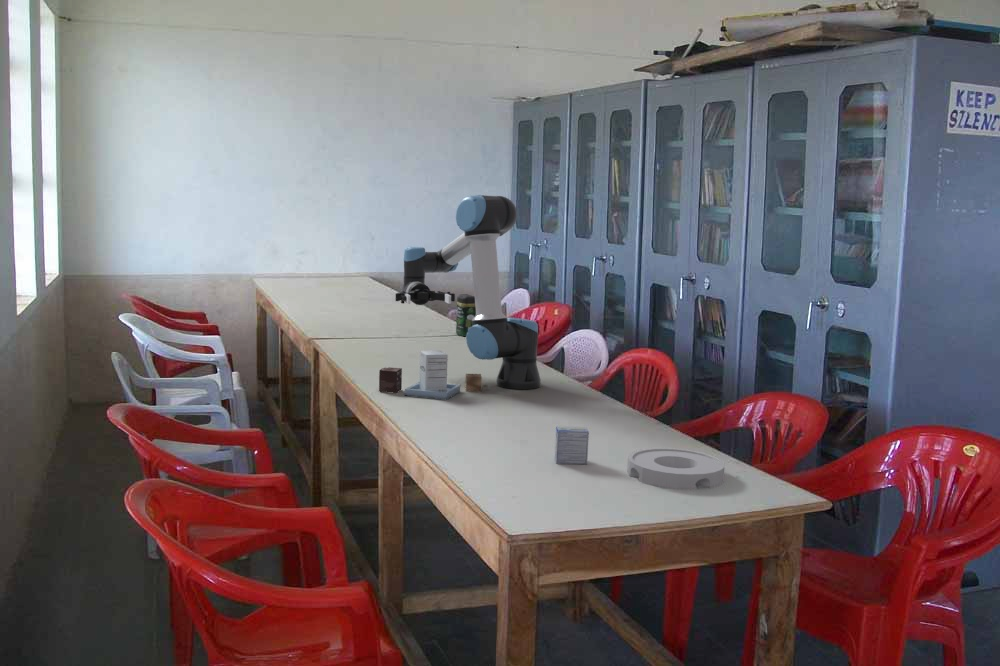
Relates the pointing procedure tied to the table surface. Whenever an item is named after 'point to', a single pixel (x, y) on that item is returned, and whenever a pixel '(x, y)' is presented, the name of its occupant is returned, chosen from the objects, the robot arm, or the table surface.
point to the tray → (418, 392)
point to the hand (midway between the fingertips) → (429, 299)
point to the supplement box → (433, 371)
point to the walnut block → (473, 382)
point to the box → (390, 379)
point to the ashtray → (675, 468)
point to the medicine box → (571, 445)
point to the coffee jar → (465, 313)
